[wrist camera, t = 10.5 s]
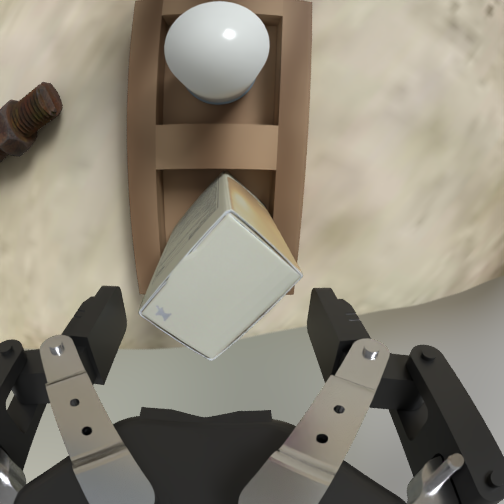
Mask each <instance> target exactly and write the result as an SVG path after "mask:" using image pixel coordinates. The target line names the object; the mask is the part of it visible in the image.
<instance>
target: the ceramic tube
mask: <svg viewBox="0 0 504 504" xmlns="http://www.w3.org/2000/svg"><path fill="white" fill-rule="evenodd" d="M269 47H270V45H269V36H268V33H267V30H266V28H265V26H264V24H263V22H262V21H261V20H260V18H259V17H258V16H257V15H256V14H254V13H253V12H252V11H251V10H249V9H247V8H245V7H243V6H241V5H239V4H235V3H231V2H224V1H215V2H207V3H203V4H200V5H197V6H195V7H193V8H191V9H189V10H187V11H186V12H184V13H183V14H182V15H181V16H179V17H178V18H177V19H176V21H175V22H174V23H173V24H172V26H171V27H170V29H169V31H168V33H167V36H166V39H165V45H164V53H165V59H166V62H167V65H168V67H169V69H170V70H171V72H172V73H173V74H174V75H175V77H176V78H177V79H178V80H179V81H180V82H182V83H183V84H184V85H185V87H186V88H187V90H188V91H189V92H190V93H191V94H192V95H193V96H194V97H195V98H197V99H198V100H200V101H202V102H204V103H207V104H211V105H226V104H230V103H233V102H235V101H237V100H239V99H241V98H242V97H243V96H245V95H246V94H247V93H248V91H249V90H250V89H251V87H252V86H253V84H254V82H255V79H256V77H257V75H258V74H259V72H260V71H261V69H262V68H263V66H264V64H265V62H266V60H267V57H268V54H269Z"/></svg>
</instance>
